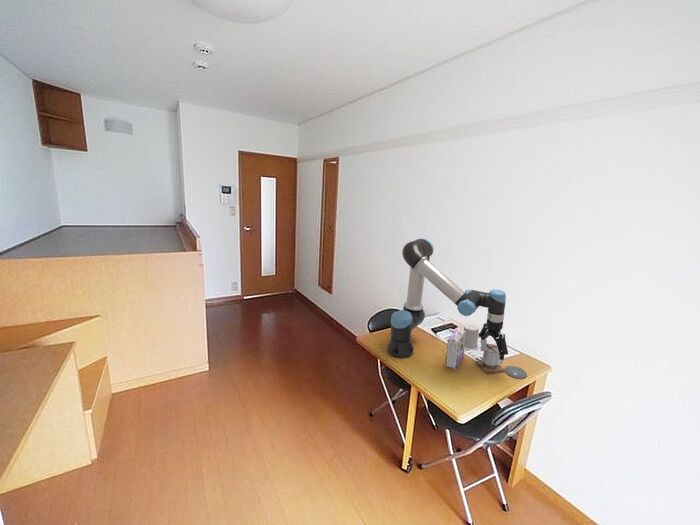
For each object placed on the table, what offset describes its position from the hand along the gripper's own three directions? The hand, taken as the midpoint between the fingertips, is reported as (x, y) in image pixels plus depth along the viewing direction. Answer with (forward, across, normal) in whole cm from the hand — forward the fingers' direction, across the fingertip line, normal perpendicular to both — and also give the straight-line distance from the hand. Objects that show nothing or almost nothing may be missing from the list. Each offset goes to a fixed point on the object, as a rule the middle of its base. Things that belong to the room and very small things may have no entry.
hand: (491, 357), depth 160 cm
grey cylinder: (+3, 0, 0) cm, 3 cm away
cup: (+6, -23, +3) cm, 24 cm away
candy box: (+6, -9, -15) cm, 19 cm away
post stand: (+6, 0, 0) cm, 6 cm away
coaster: (+6, +7, +10) cm, 13 cm away
